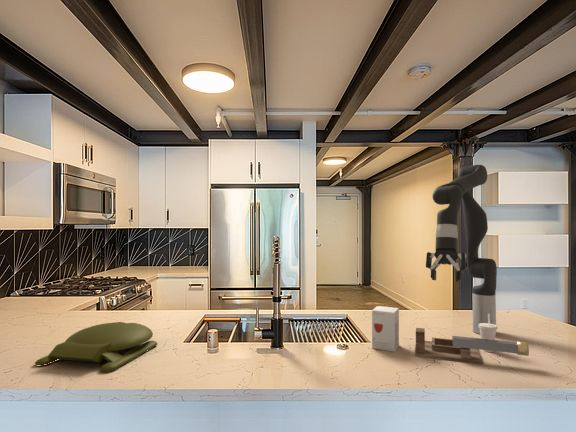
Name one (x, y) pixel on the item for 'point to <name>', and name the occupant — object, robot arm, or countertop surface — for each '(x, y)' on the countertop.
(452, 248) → the robot arm
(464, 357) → the holder
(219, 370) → the countertop surface
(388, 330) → the supplement box
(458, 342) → the bar
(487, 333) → the smoothie
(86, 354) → the spaceship
